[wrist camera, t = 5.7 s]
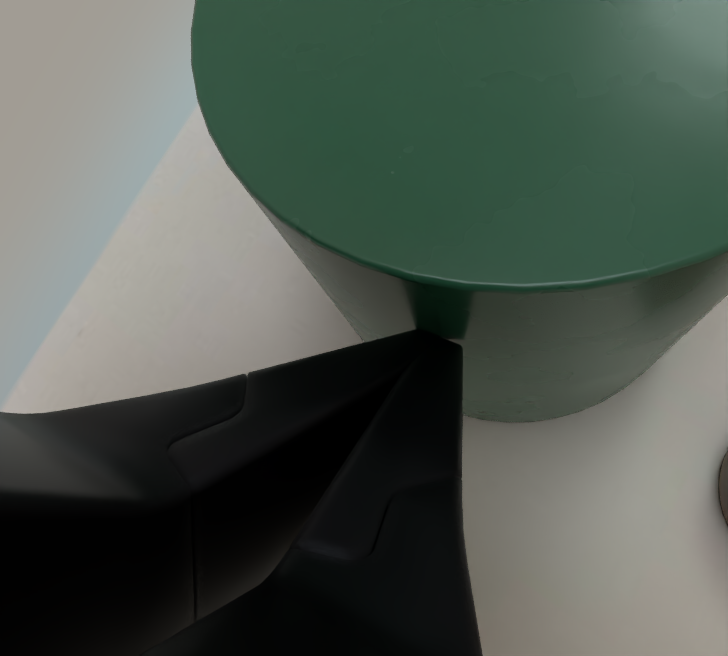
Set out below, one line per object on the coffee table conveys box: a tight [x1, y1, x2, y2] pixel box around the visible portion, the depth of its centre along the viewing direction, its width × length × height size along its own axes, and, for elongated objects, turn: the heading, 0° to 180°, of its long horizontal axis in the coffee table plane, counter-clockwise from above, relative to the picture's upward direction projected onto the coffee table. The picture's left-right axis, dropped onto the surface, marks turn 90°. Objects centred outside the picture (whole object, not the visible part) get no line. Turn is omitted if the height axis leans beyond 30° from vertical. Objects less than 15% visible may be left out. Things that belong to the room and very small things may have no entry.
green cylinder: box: [191, 0, 728, 422], centre depth 12 cm, size 10×10×10 cm
